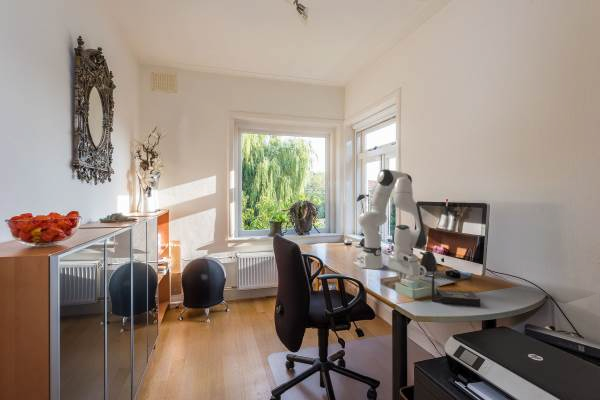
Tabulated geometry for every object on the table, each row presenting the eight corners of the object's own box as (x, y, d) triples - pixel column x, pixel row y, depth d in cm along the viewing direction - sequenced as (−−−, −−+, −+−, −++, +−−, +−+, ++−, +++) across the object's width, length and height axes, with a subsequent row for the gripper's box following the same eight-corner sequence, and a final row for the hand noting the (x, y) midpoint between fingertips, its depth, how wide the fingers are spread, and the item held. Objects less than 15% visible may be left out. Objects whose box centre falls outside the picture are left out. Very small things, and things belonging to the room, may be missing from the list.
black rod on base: (470, 298, 143) (471, 264, 143) (481, 309, 130) (482, 271, 129) (427, 295, 148) (427, 261, 147) (433, 305, 134) (434, 269, 134)
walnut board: (380, 283, 164) (380, 278, 164) (399, 280, 170) (399, 275, 170) (396, 291, 152) (396, 285, 152) (416, 287, 158) (416, 282, 158)
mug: (425, 278, 173) (425, 261, 173) (427, 283, 166) (427, 265, 165) (404, 277, 177) (404, 260, 177) (404, 281, 169) (405, 263, 169)
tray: (395, 291, 152) (395, 282, 152) (417, 287, 158) (418, 279, 158) (413, 299, 140) (413, 290, 140) (437, 294, 147) (437, 285, 147)
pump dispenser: (418, 272, 188) (419, 249, 187) (436, 273, 184) (436, 250, 184) (419, 276, 178) (420, 252, 178) (438, 278, 175) (438, 253, 174)
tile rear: (400, 283, 156) (400, 278, 155) (407, 281, 158) (407, 277, 158) (407, 286, 151) (407, 281, 151) (414, 285, 153) (414, 280, 153)
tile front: (407, 281, 151) (411, 282, 149) (415, 279, 153) (418, 281, 151) (407, 290, 151) (411, 292, 149) (414, 289, 153) (418, 290, 151)
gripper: (384, 251, 166) (384, 275, 166) (412, 259, 147) (411, 286, 148) (393, 251, 168) (393, 274, 169) (421, 258, 150) (421, 284, 150)
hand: (402, 280), depth 158 cm, fingers closed
